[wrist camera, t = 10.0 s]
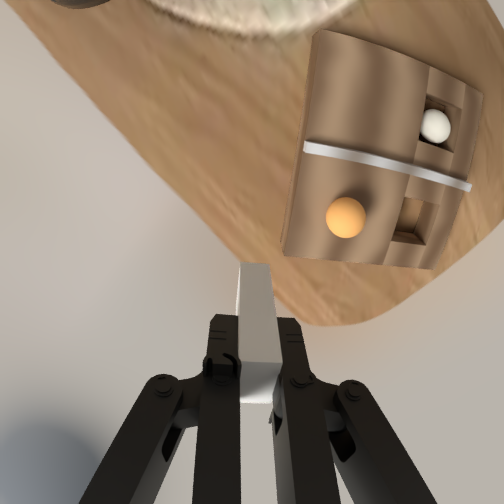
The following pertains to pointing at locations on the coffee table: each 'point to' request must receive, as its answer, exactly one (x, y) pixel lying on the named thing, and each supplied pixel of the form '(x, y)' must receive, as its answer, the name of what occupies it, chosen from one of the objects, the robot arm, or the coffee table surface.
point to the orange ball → (345, 217)
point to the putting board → (377, 154)
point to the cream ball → (435, 126)
